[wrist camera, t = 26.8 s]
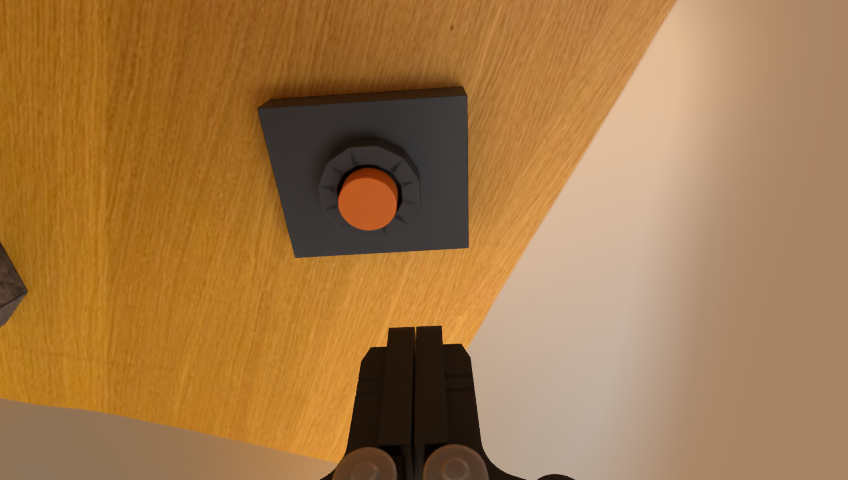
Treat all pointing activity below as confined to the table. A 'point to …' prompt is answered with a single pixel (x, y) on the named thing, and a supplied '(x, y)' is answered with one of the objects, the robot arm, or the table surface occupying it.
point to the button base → (371, 148)
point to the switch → (368, 199)
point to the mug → (9, 288)
